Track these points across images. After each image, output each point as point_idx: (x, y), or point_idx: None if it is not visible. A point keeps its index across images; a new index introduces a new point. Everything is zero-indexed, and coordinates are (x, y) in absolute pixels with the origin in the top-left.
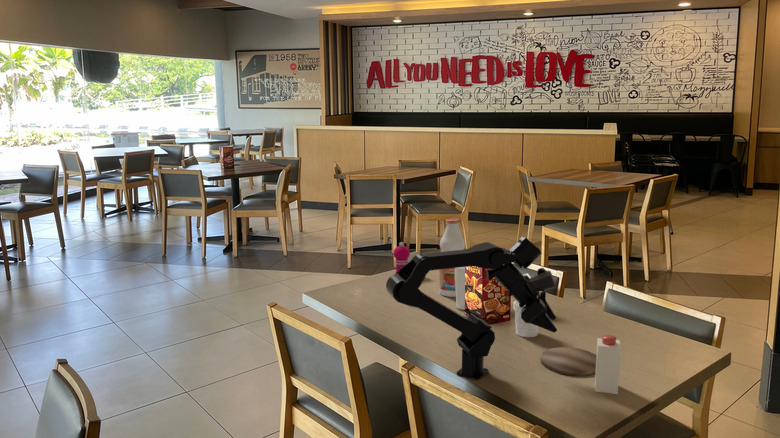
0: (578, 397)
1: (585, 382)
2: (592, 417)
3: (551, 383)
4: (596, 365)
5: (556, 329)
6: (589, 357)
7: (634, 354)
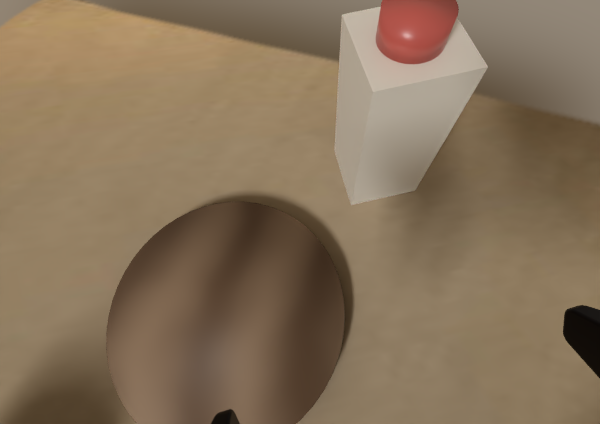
0: (490, 225)
1: (367, 229)
2: (584, 165)
3: (447, 337)
4: (403, 156)
5: (592, 309)
6: (187, 249)
7: (94, 146)
